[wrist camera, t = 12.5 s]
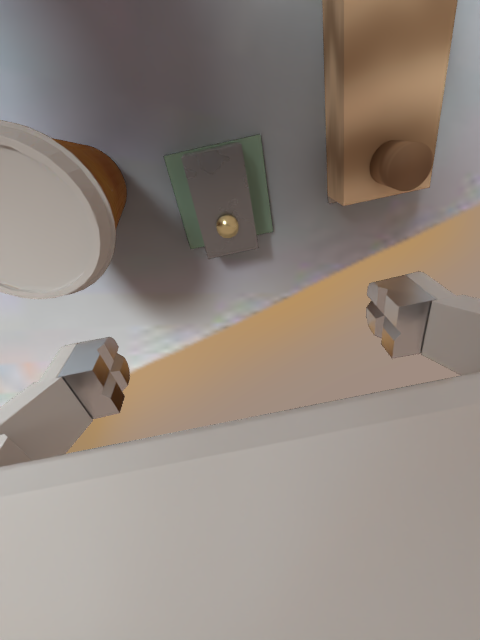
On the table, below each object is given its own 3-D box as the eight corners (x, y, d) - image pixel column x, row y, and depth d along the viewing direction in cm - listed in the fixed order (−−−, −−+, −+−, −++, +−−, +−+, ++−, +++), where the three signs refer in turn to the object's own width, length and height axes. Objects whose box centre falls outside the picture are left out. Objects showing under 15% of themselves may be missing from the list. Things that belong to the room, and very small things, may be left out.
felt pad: (164, 155, 25) (163, 156, 25) (259, 134, 25) (260, 134, 24) (190, 247, 30) (190, 249, 29) (271, 229, 29) (272, 231, 29)
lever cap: (183, 154, 25) (180, 158, 22) (238, 141, 25) (242, 144, 22) (208, 247, 29) (208, 261, 26) (254, 236, 29) (259, 250, 26)
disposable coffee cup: (15, 107, 23) (-137, 97, 13) (147, 134, 24) (105, 143, 14) (36, 233, 28) (-60, 296, 18) (145, 248, 29) (113, 314, 19)
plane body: (317, -174, 17) (404, -405, 10) (442, -206, 17) (629, -466, 9) (327, 202, 28) (370, 231, 21) (402, 186, 28) (472, 210, 21)
